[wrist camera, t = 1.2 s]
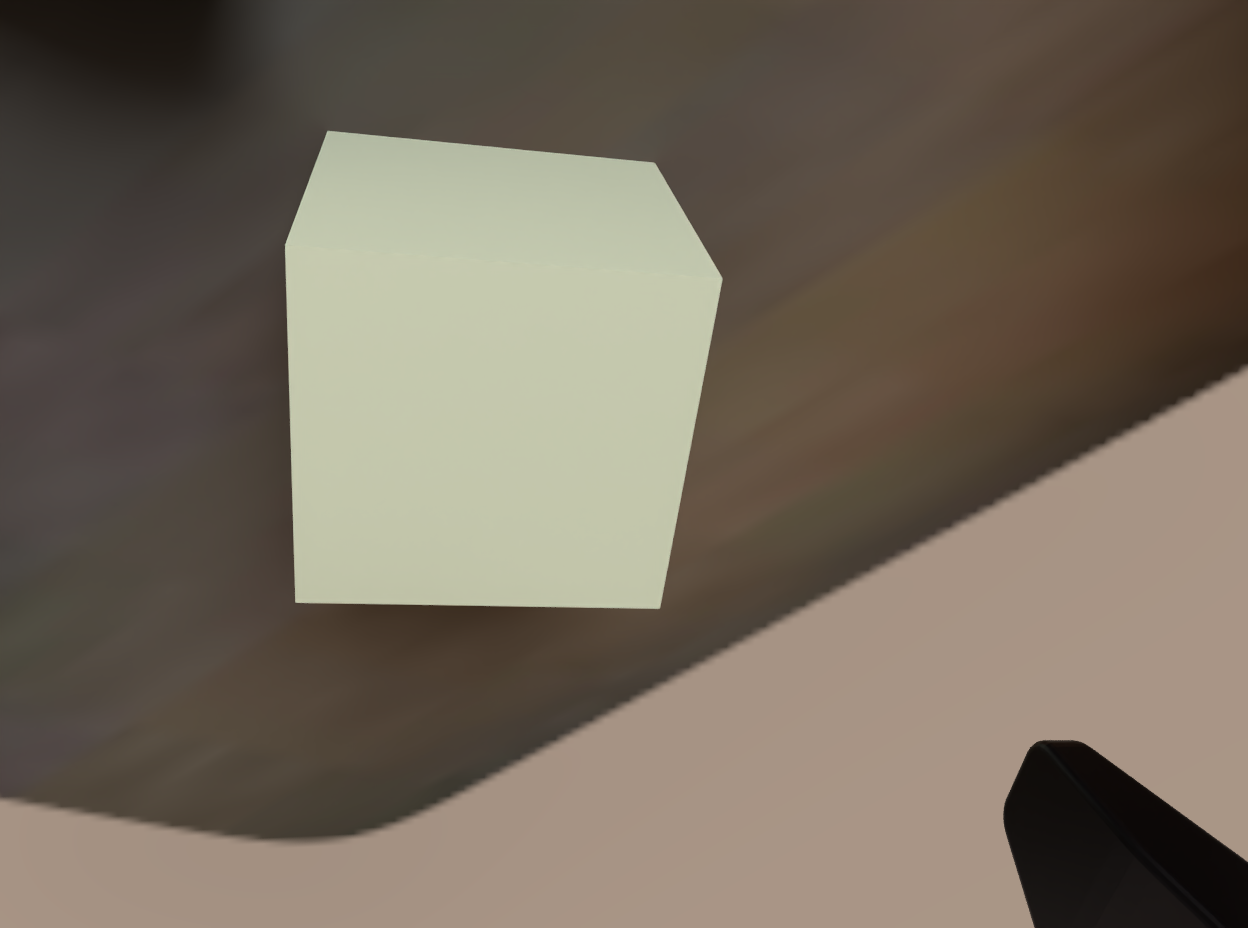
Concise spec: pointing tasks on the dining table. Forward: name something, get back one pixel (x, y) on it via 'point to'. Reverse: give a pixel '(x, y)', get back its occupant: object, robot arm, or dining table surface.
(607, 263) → the sage block
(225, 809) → the dining table surface
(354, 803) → the dining table surface
